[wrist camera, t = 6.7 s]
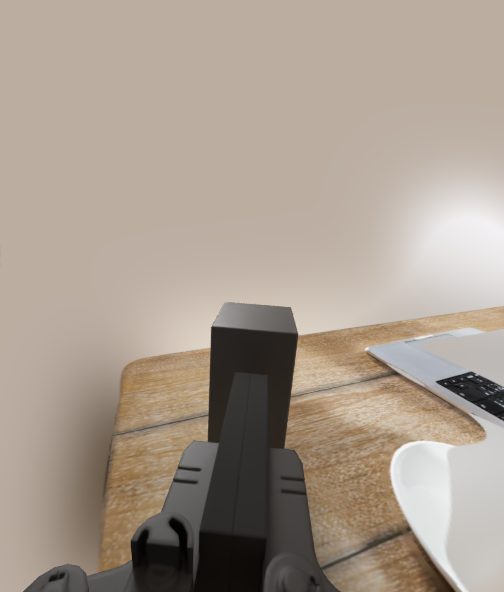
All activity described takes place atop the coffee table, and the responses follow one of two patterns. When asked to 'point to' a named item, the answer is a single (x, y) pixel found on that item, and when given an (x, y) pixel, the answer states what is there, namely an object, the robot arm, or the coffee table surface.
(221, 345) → the dark grey block
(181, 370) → the coffee table surface
